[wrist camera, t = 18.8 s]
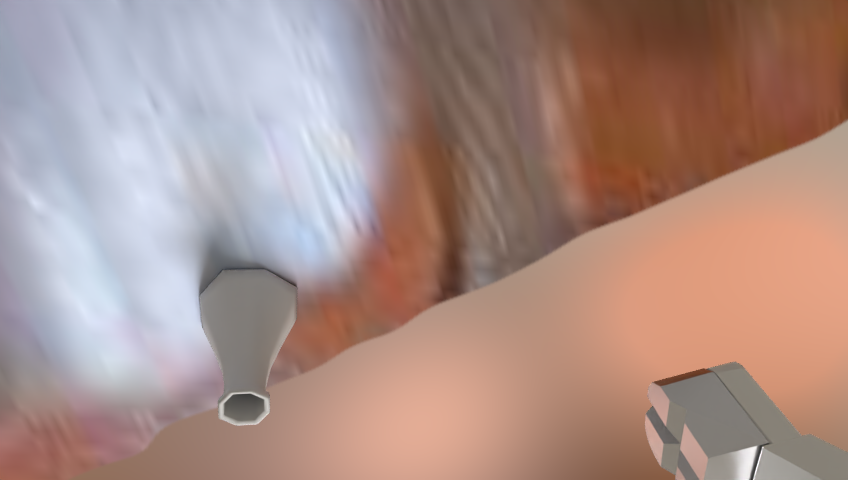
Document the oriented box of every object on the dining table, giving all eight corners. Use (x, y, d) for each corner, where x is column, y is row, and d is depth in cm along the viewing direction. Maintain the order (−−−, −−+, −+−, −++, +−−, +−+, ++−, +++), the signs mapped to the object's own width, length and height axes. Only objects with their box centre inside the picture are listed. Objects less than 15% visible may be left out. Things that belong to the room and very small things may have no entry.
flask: (213, 254, 44) (199, 355, 36) (313, 279, 47) (321, 378, 39) (186, 330, 47) (167, 438, 39) (281, 349, 50) (282, 454, 42)
